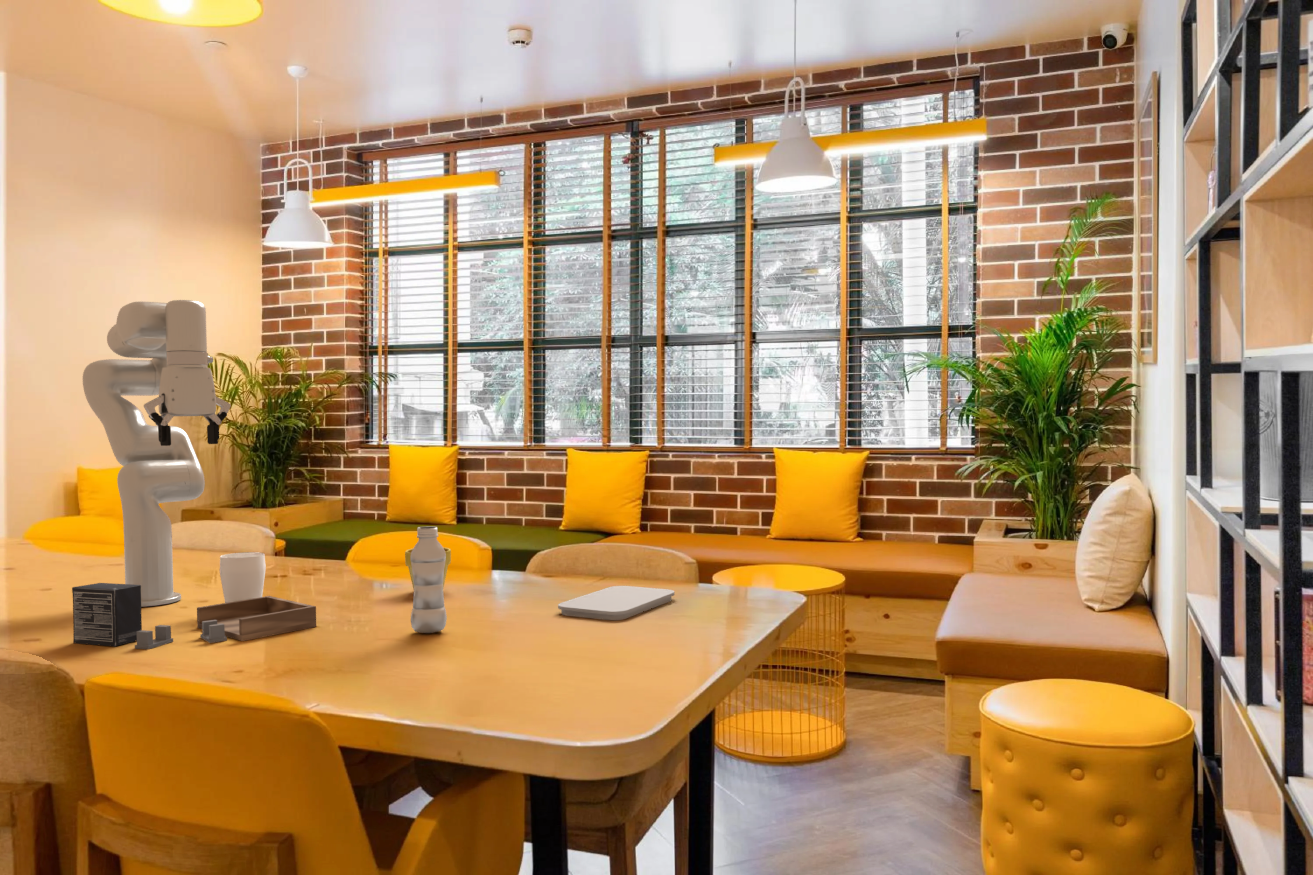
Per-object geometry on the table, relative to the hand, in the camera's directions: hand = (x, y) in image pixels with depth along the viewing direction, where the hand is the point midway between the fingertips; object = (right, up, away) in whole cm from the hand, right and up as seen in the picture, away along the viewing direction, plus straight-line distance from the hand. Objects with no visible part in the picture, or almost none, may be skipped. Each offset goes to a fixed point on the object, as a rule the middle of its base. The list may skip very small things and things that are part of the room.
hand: (189, 444), depth 201 cm
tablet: (+88, -35, +8) cm, 95 cm away
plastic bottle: (+53, -36, -15) cm, 65 cm away
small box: (-6, -37, -19) cm, 42 cm away
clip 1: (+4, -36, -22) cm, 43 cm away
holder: (+17, -36, -9) cm, 41 cm away
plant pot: (+43, -35, +28) cm, 61 cm away
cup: (+8, -36, +7) cm, 37 cm away
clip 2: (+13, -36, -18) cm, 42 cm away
